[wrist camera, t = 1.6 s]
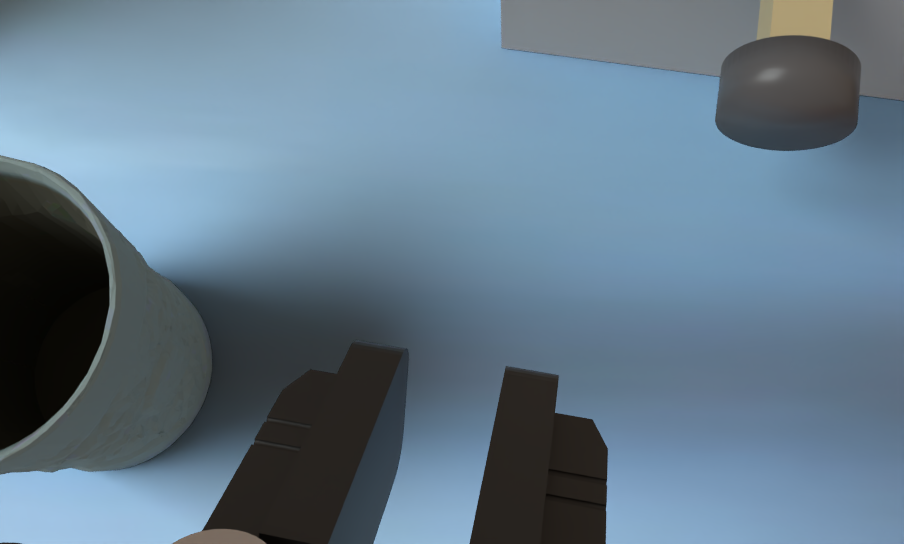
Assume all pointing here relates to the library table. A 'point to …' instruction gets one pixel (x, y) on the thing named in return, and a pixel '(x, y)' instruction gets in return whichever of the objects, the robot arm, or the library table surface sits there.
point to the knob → (790, 81)
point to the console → (697, 34)
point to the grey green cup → (87, 336)
